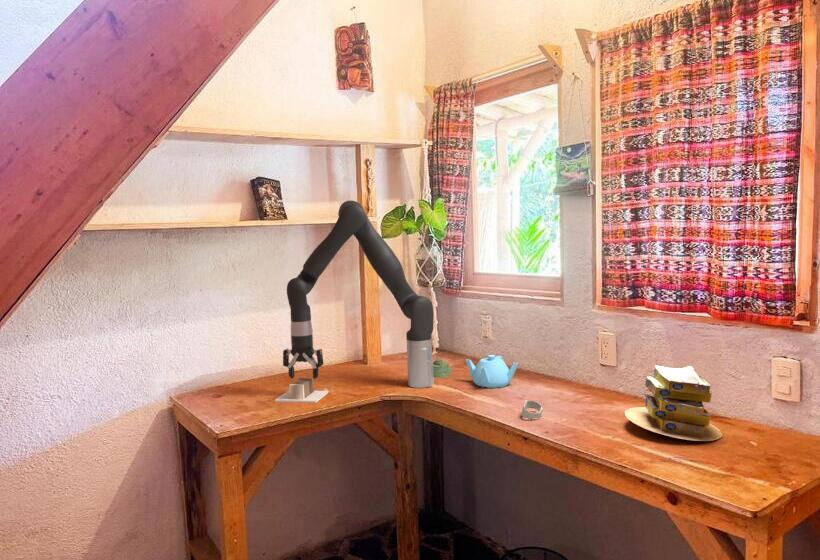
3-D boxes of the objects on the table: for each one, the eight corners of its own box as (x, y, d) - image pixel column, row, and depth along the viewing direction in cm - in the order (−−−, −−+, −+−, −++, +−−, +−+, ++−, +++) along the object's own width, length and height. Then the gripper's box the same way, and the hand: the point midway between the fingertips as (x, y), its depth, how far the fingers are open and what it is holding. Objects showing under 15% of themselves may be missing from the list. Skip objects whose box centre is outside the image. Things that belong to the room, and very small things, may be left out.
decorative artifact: (423, 377, 240) (448, 378, 237) (422, 359, 240) (447, 360, 237) (429, 371, 250) (453, 372, 247) (429, 354, 249) (453, 354, 246)
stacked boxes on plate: (717, 419, 178) (717, 362, 176) (726, 449, 155) (727, 384, 153) (626, 413, 187) (626, 358, 186) (623, 440, 164) (622, 378, 163)
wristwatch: (524, 411, 192) (524, 395, 192) (545, 412, 190) (544, 396, 190) (519, 420, 184) (518, 403, 184) (540, 421, 182) (540, 405, 181)
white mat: (328, 392, 222) (328, 390, 222) (316, 402, 209) (315, 401, 209) (289, 391, 225) (289, 390, 225) (274, 401, 212) (274, 400, 212)
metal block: (313, 378, 221) (302, 385, 211) (313, 391, 222) (303, 399, 212) (300, 377, 222) (289, 384, 212) (300, 391, 223) (289, 399, 213)
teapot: (520, 386, 221) (520, 357, 220) (482, 391, 216) (481, 361, 215) (501, 377, 235) (501, 349, 235) (465, 381, 231) (464, 353, 230)
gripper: (278, 335, 216) (280, 380, 217) (317, 335, 213) (319, 381, 214) (286, 331, 223) (289, 375, 224) (324, 331, 220) (326, 376, 221)
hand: (303, 378), depth 219 cm, fingers open, 8 cm apart
